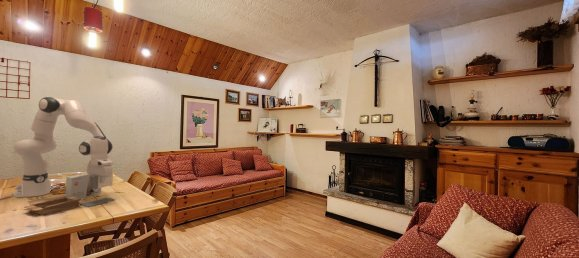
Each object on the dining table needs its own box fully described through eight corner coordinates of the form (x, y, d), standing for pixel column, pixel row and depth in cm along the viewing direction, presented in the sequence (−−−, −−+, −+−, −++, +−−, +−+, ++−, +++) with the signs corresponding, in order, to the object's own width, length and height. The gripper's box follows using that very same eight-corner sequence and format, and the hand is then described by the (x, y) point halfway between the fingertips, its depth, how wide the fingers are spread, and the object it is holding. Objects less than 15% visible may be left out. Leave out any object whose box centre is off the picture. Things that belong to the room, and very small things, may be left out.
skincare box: (71, 201, 160) (71, 177, 159) (64, 201, 161) (65, 176, 160) (102, 193, 180) (102, 171, 180) (95, 192, 181) (96, 171, 181)
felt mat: (79, 204, 155) (79, 204, 155) (106, 198, 169) (106, 197, 169) (88, 207, 151) (88, 206, 151) (115, 200, 166) (115, 199, 166)
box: (87, 188, 157) (87, 175, 156) (107, 184, 168) (107, 172, 168) (92, 189, 155) (92, 176, 154) (112, 185, 166) (112, 173, 166)
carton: (20, 212, 140) (21, 202, 140) (69, 200, 161) (69, 192, 161) (38, 218, 133) (39, 208, 133) (87, 205, 154) (87, 197, 154)
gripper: (83, 160, 161) (83, 181, 161) (104, 163, 153) (103, 185, 154) (94, 159, 167) (94, 179, 167) (114, 162, 159) (114, 183, 159)
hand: (98, 182), depth 160 cm, fingers closed on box, 5 cm apart
